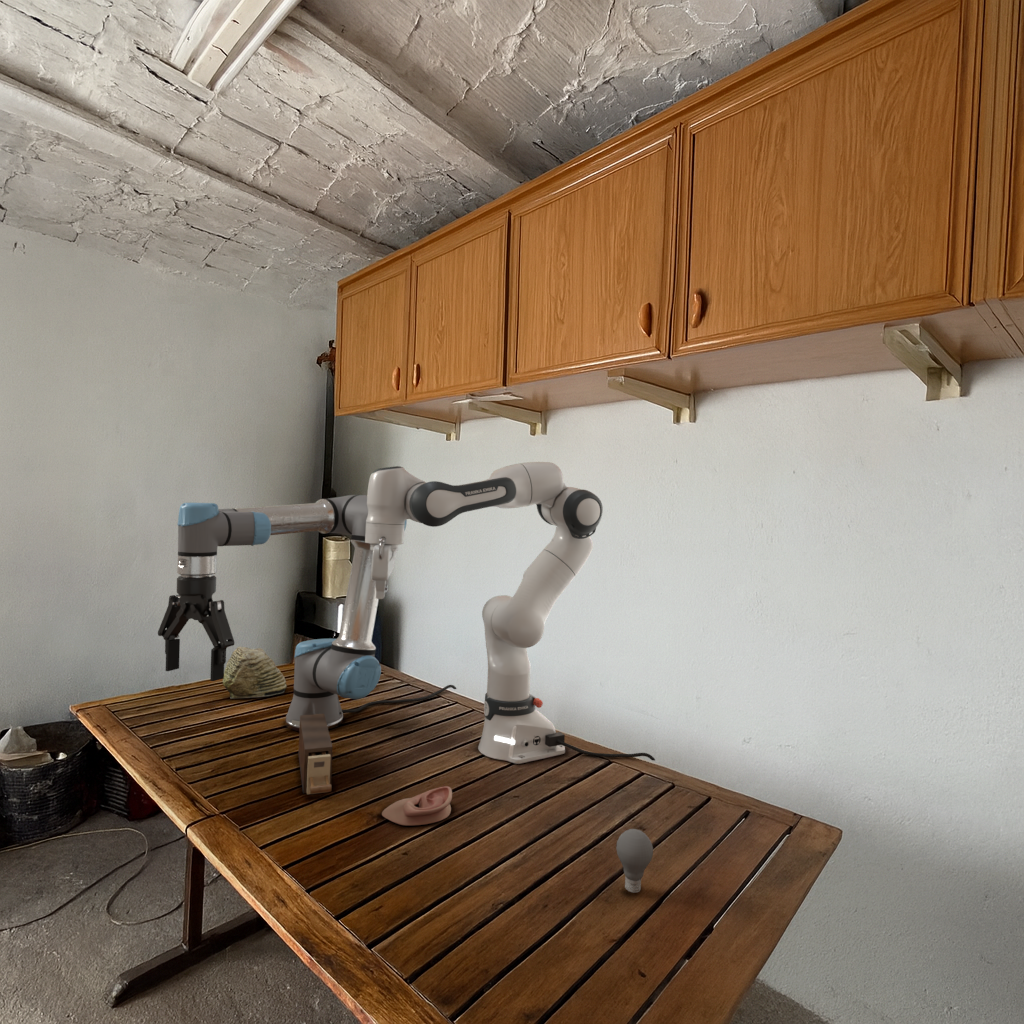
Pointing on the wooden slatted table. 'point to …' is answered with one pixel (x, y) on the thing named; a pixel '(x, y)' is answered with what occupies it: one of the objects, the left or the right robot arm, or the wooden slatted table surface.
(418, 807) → the anatomical model
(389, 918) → the wooden slatted table surface
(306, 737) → the cabinet
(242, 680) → the fossil
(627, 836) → the light bulb
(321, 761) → the drawer
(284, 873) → the wooden slatted table surface
